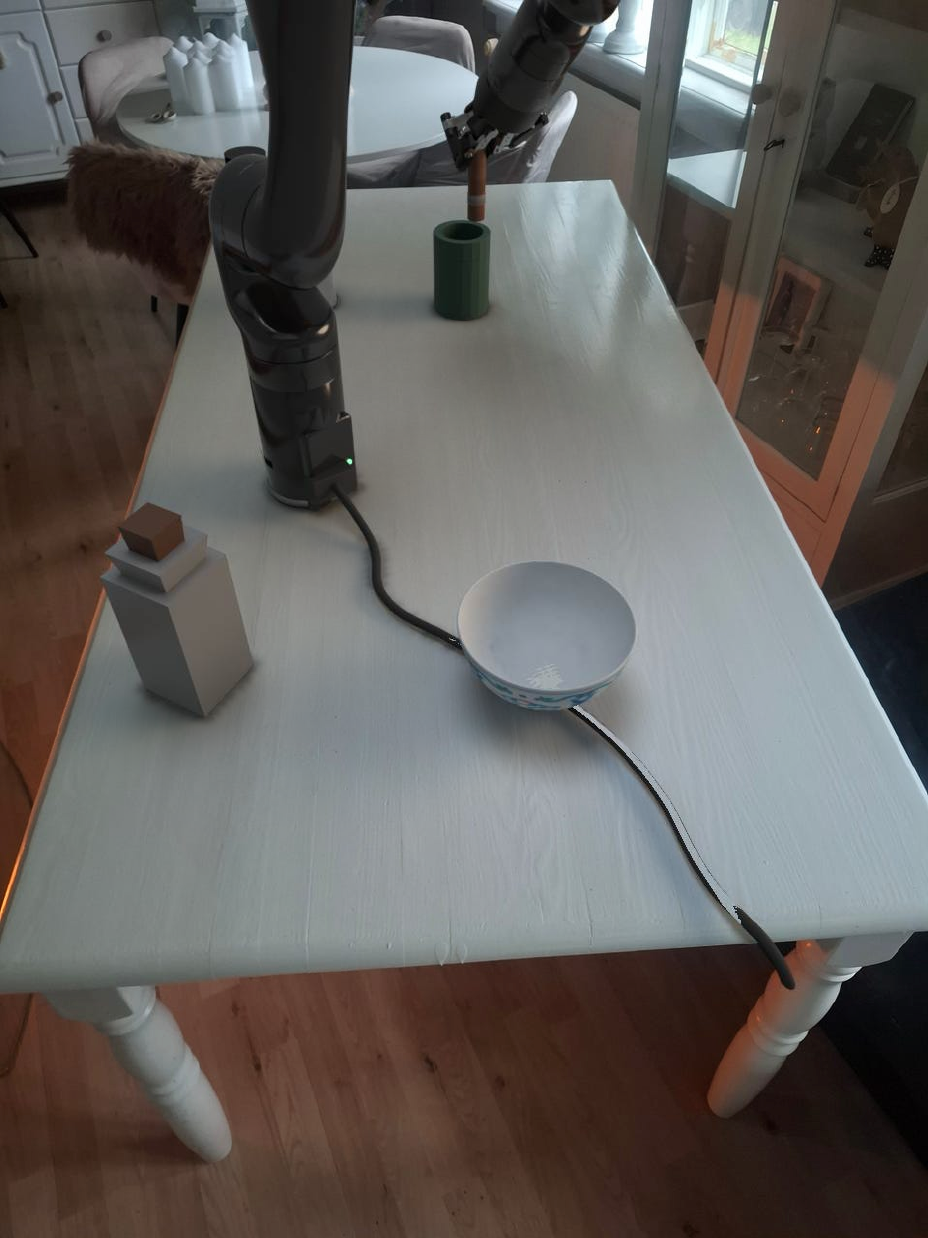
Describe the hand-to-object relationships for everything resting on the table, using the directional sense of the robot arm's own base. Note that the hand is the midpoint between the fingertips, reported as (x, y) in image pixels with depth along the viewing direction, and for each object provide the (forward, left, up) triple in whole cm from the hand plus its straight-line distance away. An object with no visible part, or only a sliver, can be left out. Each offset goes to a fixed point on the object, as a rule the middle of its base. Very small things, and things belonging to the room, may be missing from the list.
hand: (469, 162), depth 106 cm
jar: (+5, -4, -22) cm, 23 cm away
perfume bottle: (-27, +63, -22) cm, 72 cm away
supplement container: (+52, -2, -22) cm, 57 cm away
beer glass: (+21, +10, -22) cm, 32 cm away
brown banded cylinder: (-2, +1, -6) cm, 6 cm away
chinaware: (-49, +42, -22) cm, 68 cm away
